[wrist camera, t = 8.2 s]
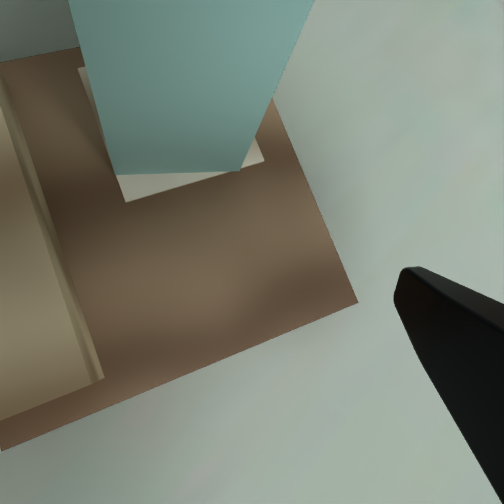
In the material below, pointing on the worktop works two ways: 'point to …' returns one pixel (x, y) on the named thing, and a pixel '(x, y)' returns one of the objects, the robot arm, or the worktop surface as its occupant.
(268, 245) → the baseplate
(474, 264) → the worktop surface
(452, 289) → the robot arm
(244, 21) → the column
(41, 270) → the beam
